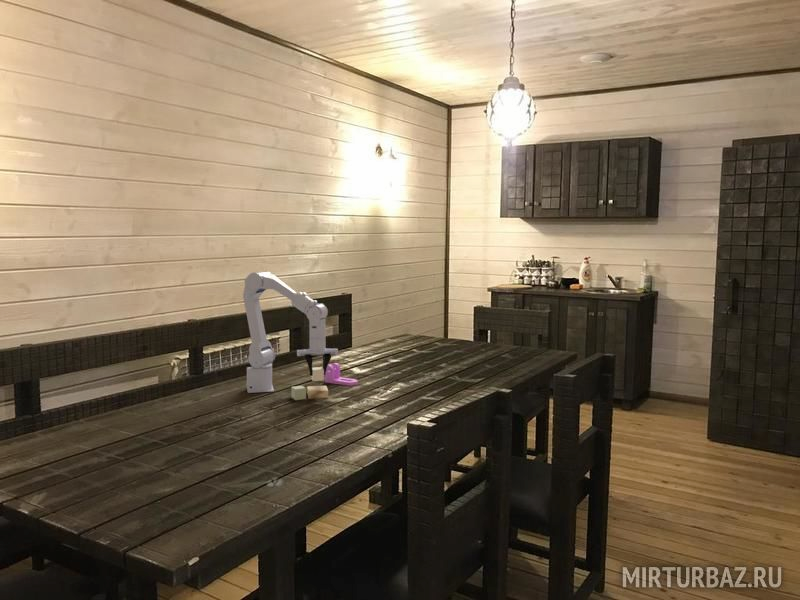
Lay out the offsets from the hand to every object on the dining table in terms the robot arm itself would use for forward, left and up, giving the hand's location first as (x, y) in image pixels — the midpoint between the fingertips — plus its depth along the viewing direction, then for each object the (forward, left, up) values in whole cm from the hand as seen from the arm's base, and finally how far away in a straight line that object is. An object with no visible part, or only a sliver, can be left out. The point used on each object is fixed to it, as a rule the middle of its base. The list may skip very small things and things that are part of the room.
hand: (317, 374), depth 230 cm
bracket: (+12, +17, -8) cm, 22 cm away
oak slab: (0, 0, -8) cm, 8 cm away
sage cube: (-7, -2, -8) cm, 11 cm away
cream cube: (0, 0, -2) cm, 2 cm away
